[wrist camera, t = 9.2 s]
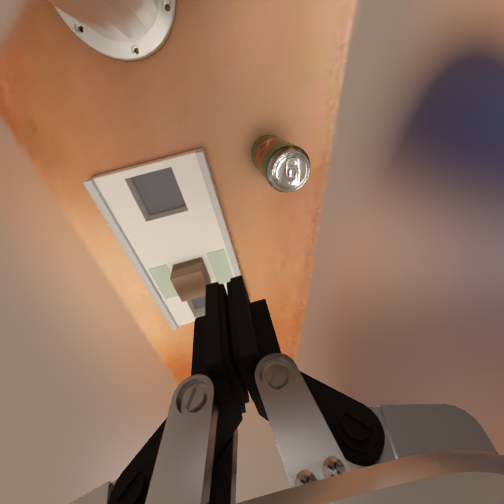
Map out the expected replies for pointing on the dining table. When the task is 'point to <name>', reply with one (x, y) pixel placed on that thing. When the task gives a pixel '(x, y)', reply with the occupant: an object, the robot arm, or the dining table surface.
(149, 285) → the box
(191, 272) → the walnut block
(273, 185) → the soda can
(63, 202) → the dining table surface
